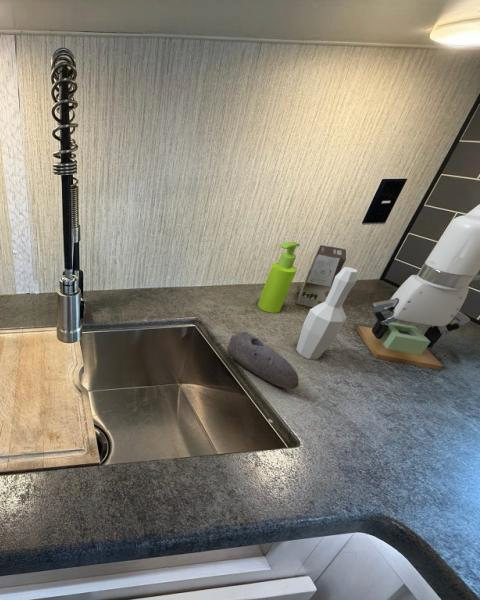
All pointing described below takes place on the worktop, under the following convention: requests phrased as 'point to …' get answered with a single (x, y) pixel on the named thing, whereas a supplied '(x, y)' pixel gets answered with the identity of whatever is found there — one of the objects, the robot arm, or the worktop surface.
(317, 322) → the faceted bottle
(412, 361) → the base pad
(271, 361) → the perforated stone tool
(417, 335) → the sage block
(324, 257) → the coffee box
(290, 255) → the soap dispenser
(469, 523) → the worktop surface
